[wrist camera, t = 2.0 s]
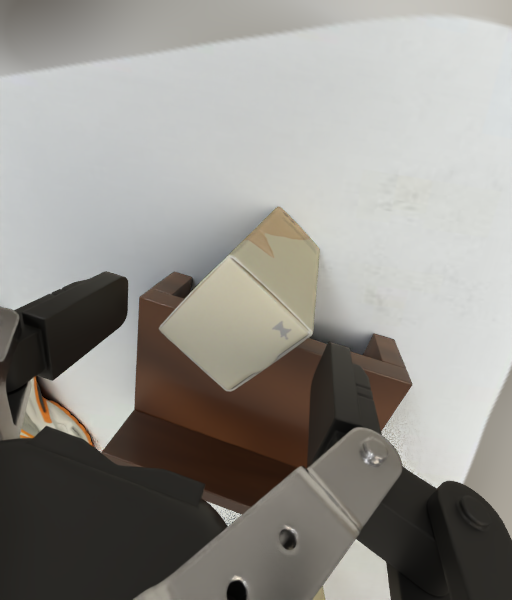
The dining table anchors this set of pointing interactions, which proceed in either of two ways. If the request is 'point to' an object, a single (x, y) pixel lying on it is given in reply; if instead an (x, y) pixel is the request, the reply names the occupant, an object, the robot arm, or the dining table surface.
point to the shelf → (231, 409)
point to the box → (250, 304)
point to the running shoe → (49, 417)
